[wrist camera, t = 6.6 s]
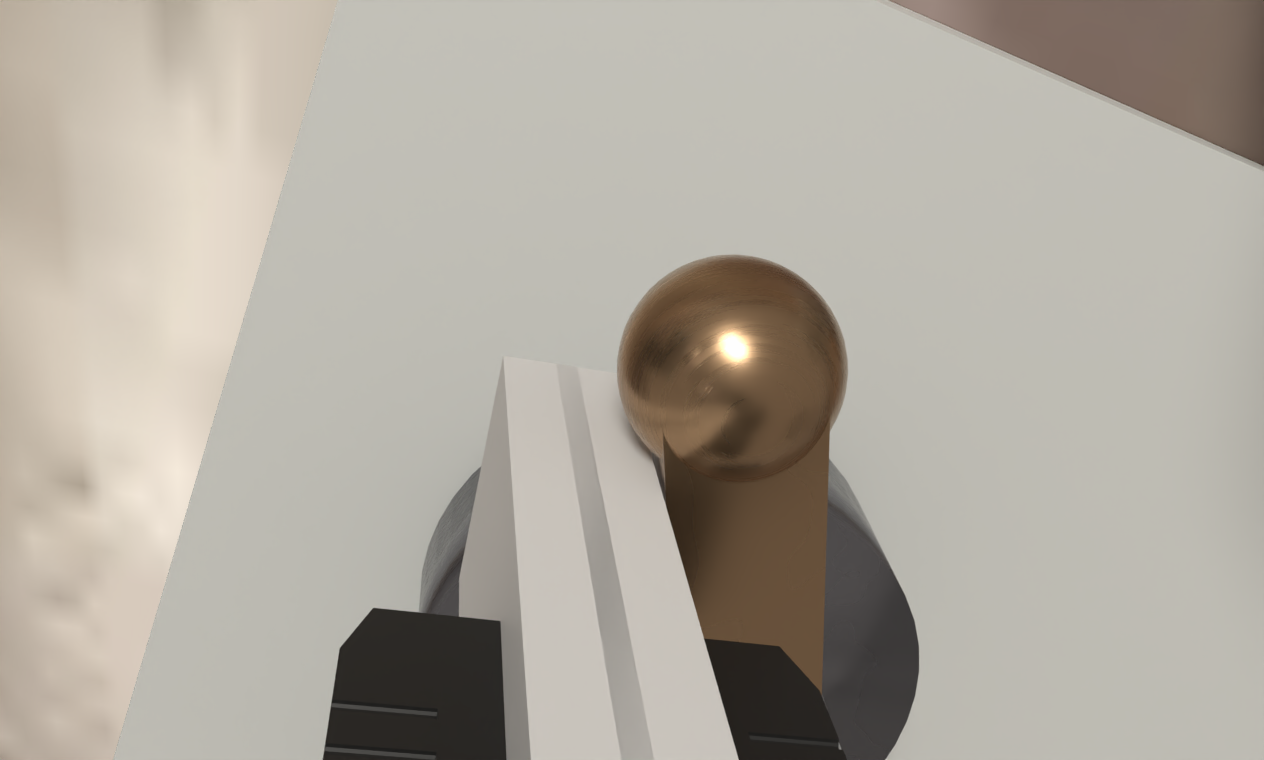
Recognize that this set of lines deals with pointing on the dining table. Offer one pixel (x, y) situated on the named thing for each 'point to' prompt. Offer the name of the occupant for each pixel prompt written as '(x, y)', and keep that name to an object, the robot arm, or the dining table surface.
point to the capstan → (753, 487)
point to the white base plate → (845, 278)
